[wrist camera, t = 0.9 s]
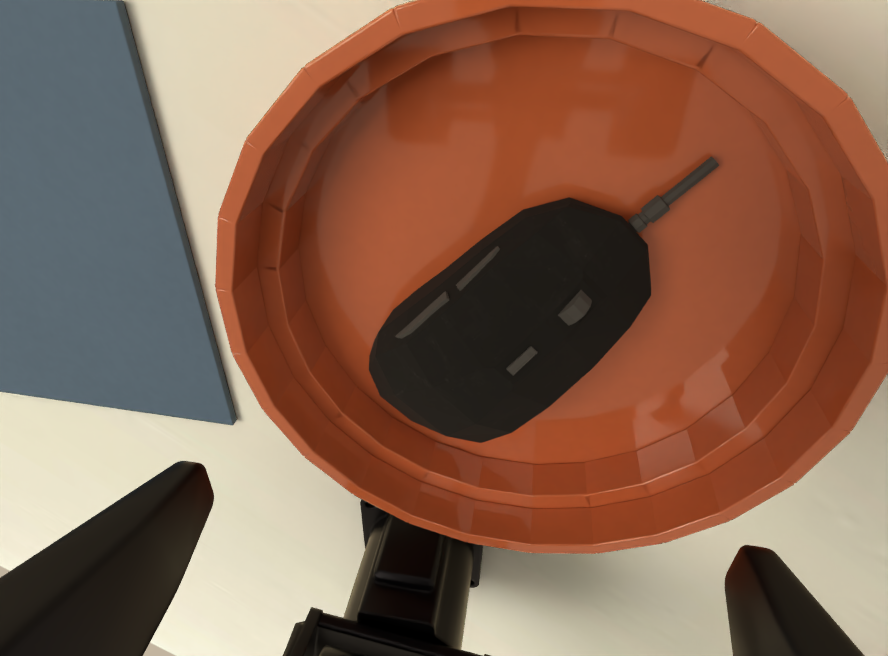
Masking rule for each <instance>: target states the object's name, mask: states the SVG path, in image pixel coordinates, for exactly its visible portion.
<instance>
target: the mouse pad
mask: <svg viewBox="0 0 888 656" xmlns="http://www.w3.org/2000/svg"><path fill="white" fill-rule="evenodd" d="M0 392H7V393H13V394H20V395H27V396H34V397H41V398H48V399H55V400H62V401H69V402H76V403H83V404H90V405H96V406H103V407H110V408H117V409H124V410H131V411H138V412H145V413H152V414H159V415H166V416H172V417H179V418H186V419H193V420H200V421H207V422H214V423H221V424H228V425H234V423H235V422H236V420H237V419H236V415H235V412H234V408H233V404H232V400H231V397H230V393H229V389H228V386H227V382H226V378H225V375H224V371H223V367H222V363H221V360H220V356H219V352H218V349H217V345H216V341H215V338H214V334H213V330H212V326H211V323H210V319H209V315H208V312H207V308H206V304H205V301H204V297H203V293H202V289H201V286H200V282H199V278H198V275H197V271H196V267H195V264H194V260H193V256H192V252H191V249H190V245H189V241H188V238H187V234H186V230H185V227H184V223H183V219H182V215H181V212H180V208H179V204H178V201H177V197H176V193H175V190H174V186H173V182H172V178H171V175H170V171H169V167H168V164H167V160H166V156H165V153H164V149H163V145H162V141H161V138H160V134H159V130H158V127H157V123H156V119H155V116H154V112H153V108H152V104H151V101H150V97H149V93H148V90H147V86H146V82H145V79H144V75H143V71H142V67H141V64H140V60H139V56H138V53H137V49H136V45H135V42H134V38H133V34H132V30H131V27H130V23H129V19H128V16H127V12H126V8H125V5H124V2H123V1H122V0H0Z"/></svg>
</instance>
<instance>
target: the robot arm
mask: <svg viewBox="0 0 888 656" xmlns="http://www.w3.org/2000/svg"><path fill="white" fill-rule="evenodd" d="M213 501H214V493H213V490H212V487H211V484H210V481H209V478H208V475H207V472H206V469H205V467H204V466H203V465H202V464H200V463H195V462H188V461H180V462H177V463H175V464H173V465H172V466H170V467H169V468H167V469H166V470H164V471H163V472H161V473H160V474H158V475H156V476H155V477H153V478H152V479H150V480H149V481H147V482H146V483H144V484H143V485H141V486H140V487H138V488H137V489H135V490H134V491H132V492H131V493H129V494H127V495H126V496H124V497H123V498H121V499H120V500H118V501H117V502H115V503H114V504H112V505H111V506H109V507H108V508H106V509H105V510H103V511H101V512H100V513H98V514H97V515H95V516H94V517H92V518H91V519H89V520H88V521H86V522H85V523H83V524H82V525H80V526H79V527H77V528H75V529H74V530H72V531H71V532H69V533H68V534H66V535H65V536H63V537H62V538H60V539H59V540H57V541H56V542H54V543H53V544H51V545H50V546H48V547H46V548H45V549H43V550H42V551H40V552H39V553H37V554H36V555H34V556H33V557H31V558H30V559H28V560H27V561H25V562H24V563H22V564H20V565H19V566H17V567H16V568H14V569H13V570H11V571H10V572H8V573H7V574H5V575H4V576H2V577H1V578H0V656H143V654H144V652H145V650H146V648H147V647H148V645H149V643H150V641H151V639H152V637H153V635H154V633H155V632H156V630H157V628H158V626H159V624H160V622H161V620H162V618H163V617H164V615H165V613H166V611H167V609H168V607H169V605H170V603H171V602H172V600H173V598H174V596H175V594H176V592H177V590H178V587H179V585H180V583H181V581H182V578H183V576H184V574H185V571H186V569H187V567H188V564H189V562H190V559H191V557H192V554H193V552H194V550H195V547H196V545H197V542H198V540H199V538H200V535H201V533H202V530H203V528H204V525H205V523H206V521H207V518H208V516H209V513H210V511H211V508H212V506H213ZM361 513H362V523H363V532H364V541H365V552H364V555H363V559H362V562H361V565H360V568H359V571H358V574H357V577H356V580H355V583H354V586H353V590H352V593H351V596H350V599H349V602H348V605H347V608H346V611H345V614H344V617H343V618H341V617H338V616H334V615H330V614H327V613H323V610H320V609H317V608H313V607H311V609H310V611H309V613H308V616H307V618H306V620H305V621H303V622H299V623H296V624H295V626H294V629H293V631H292V634H291V637H290V639H289V642H288V644H287V647H286V649H285V652H284V654H283V656H482V655H478V654H474V653H471V652H467V651H463V650H461V647H462V639H463V632H464V625H465V618H466V611H467V603H468V596H469V589H470V587H471V588H474V587H477V586H478V585H479V579H480V570H481V560H482V550H483V545H478V544H472V543H468V542H463V541H460V540H457V539H454V538H451V537H448V536H445V535H442V534H439V533H436V532H433V531H430V530H427V529H424V528H421V527H418V526H415V525H412V524H409V523H407V522H405V521H403V520H401V519H399V518H397V517H395V516H393V515H391V514H389V513H387V512H386V511H384V510H382V509H380V508H378V507H376V506H374V505H372V504H370V503H368V502H366V501H364V500H363V499H362V500H361ZM725 595H726V603H727V611H728V619H729V627H730V635H731V643H732V650H733V656H864V655H863V653H862V652H861V651H860V650H859V649H858V648H857V646H856V645H855V644H854V643H853V642H852V641H851V640H850V638H849V637H848V636H847V635H846V634H845V633H844V631H843V630H842V629H841V628H840V627H839V626H838V624H837V623H836V622H835V621H834V620H833V619H832V618H831V616H830V615H829V614H828V613H827V612H826V611H825V609H824V608H823V607H822V606H821V605H820V604H819V602H818V601H817V600H816V599H815V598H814V597H813V596H812V594H811V593H810V592H809V591H808V590H807V589H806V587H805V586H804V585H803V584H802V583H801V582H800V580H799V579H798V578H797V577H796V576H795V575H794V574H793V572H792V571H791V570H790V569H789V568H788V567H787V565H786V564H785V563H784V562H783V561H782V560H781V558H780V557H779V556H778V555H777V554H776V553H775V552H774V551H772V550H770V549H768V548H763V547H756V546H750V545H744V546H742V547H741V548H740V549H739V551H738V553H737V555H736V557H735V558H734V560H733V562H732V564H731V566H730V568H729V570H728V572H727V574H726V577H725ZM484 656H490V655H487V654H485V655H484Z"/></svg>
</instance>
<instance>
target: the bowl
mask: <svg viewBox="0 0 888 656" xmlns="http://www.w3.org/2000/svg"><path fill="white" fill-rule="evenodd" d="M711 156H712V157H713V158H714V159H715V160H716V162H717V163H718V164H719V166H718V167H717V168H716V169H714V170H713V171H712V172H711V173H709V174H708V175H707V176H706V177H704V178H703V179H702V180H701V181H699V182H698V183H697V184H696V185H694V186H693V187H692V188H691V189H689V190H688V191H687V192H686V193H684V194H683V195H682V196H681V197H679V198H678V199H677V200H676V201H674V202H673V203H672V204H671V205H669V208H670V210H669V211H668V212H667V213H665V214H664V215H663V216H662V217H660V218H659V219H658V220H657V221H655V222H654V223H652V222H649V223H648V224H647V227H646V228H645V229H644V230H643V231H641V232H640V233H638V232H637V233H638V234H639V236H640V237H641V238H642V239H643V240H644V241H645V242H646V243H647V244H648V251H649V264H650V278H651V296H650V298H649V300H648V301H647V303H646V304H645V306H644V307H643V309H642V310H641V312H640V313H639V315H638V316H637V318H636V319H635V321H634V322H633V324H632V325H631V327H630V328H629V329H628V330H627V331H626V332H625V334H624V335H623V336H622V337H621V338H620V339H619V340H618V341H617V342H616V343H615V344H614V346H613V347H612V348H611V349H610V350H609V351H608V352H607V353H606V354H605V355H604V357H603V358H602V359H601V360H600V361H599V362H598V363H597V364H596V365H595V366H594V367H593V368H592V369H591V370H590V371H589V372H588V373H587V374H586V375H585V376H583V377H582V378H581V379H580V380H579V381H578V382H577V383H576V384H574V385H573V386H572V387H571V388H570V389H569V390H568V391H567V392H565V393H564V394H563V395H562V396H561V397H560V398H559V399H558V400H556V401H555V402H554V403H553V404H552V405H551V406H550V407H548V408H547V409H546V410H544V411H543V412H541V413H540V414H538V415H537V416H535V417H534V418H533V419H531V420H530V421H528V422H527V423H525V424H524V425H522V426H521V427H519V428H518V429H517V430H515V431H514V432H512V433H510V434H507V435H504V436H501V437H498V438H495V439H492V440H489V441H486V442H483V443H478V442H473V441H467V440H462V439H457V438H452V437H447V436H444V435H442V434H440V433H438V432H435V431H433V430H431V429H428V428H426V427H424V426H422V425H419V424H417V423H415V422H413V421H411V420H409V419H408V418H407V417H406V416H404V415H403V414H402V413H401V412H399V411H398V410H397V409H396V408H394V407H393V406H392V405H391V404H389V403H388V402H387V401H386V400H384V399H383V398H382V397H381V396H380V395H379V392H378V390H377V388H376V385H375V383H374V381H373V379H372V376H371V374H370V372H369V355H370V352H371V349H372V346H373V343H374V340H375V338H376V336H377V334H378V332H379V330H380V329H381V327H382V326H383V324H384V323H385V321H386V320H387V318H388V317H389V315H390V313H391V312H392V310H393V309H395V308H396V307H397V306H398V305H399V304H400V303H402V302H403V301H404V300H405V299H406V298H407V297H409V296H410V295H411V294H412V293H413V292H414V291H416V290H417V289H418V288H420V287H421V286H422V285H424V284H425V283H426V282H428V281H429V280H430V279H432V278H433V277H435V276H436V275H437V274H439V273H440V272H441V271H443V270H444V269H445V268H447V267H448V266H449V265H450V264H452V263H453V262H454V261H455V260H457V259H458V258H459V257H460V256H461V255H463V254H464V253H465V252H466V251H468V250H469V249H470V248H471V247H473V246H474V245H475V244H476V243H477V242H479V241H480V240H481V239H482V238H484V237H485V236H487V235H488V234H489V233H491V232H492V231H494V230H495V229H496V228H498V227H499V226H501V225H502V224H503V223H505V222H506V221H508V220H509V219H510V218H512V217H513V216H514V215H516V214H517V213H519V212H520V211H521V210H523V209H527V208H531V207H534V206H538V205H542V204H546V203H549V202H553V201H557V200H561V199H565V198H568V197H570V198H573V199H575V200H578V201H581V202H584V203H587V204H589V205H592V206H595V207H598V208H601V209H604V210H606V211H609V212H612V213H615V214H618V215H620V216H622V217H623V218H624V219H625V220H626V221H627V222H628V223H629V221H628V220H629V219H630V218H631V217H632V216H634V215H635V214H636V213H637V214H639V213H640V212H642V210H641V208H642V207H643V206H645V205H646V204H647V203H648V202H649V201H651V200H652V199H653V198H654V197H656V196H657V195H659V196H660V197H662V196H663V195H664V194H665V193H667V192H668V191H669V190H670V189H671V188H673V187H674V186H675V185H676V184H678V183H679V182H680V181H681V180H683V179H684V178H685V177H686V176H688V175H689V174H690V173H691V172H692V171H694V170H695V169H696V168H697V167H699V166H700V165H701V164H702V163H704V162H705V161H706V160H707V159H709V158H710V157H711ZM215 287H216V293H217V297H218V301H219V305H220V309H221V313H222V317H223V321H224V324H225V328H226V332H227V336H228V340H229V344H230V348H231V352H232V353H233V357H234V358H235V360H236V362H237V364H238V366H239V368H240V369H241V371H242V373H243V375H244V377H245V379H246V380H247V382H248V384H249V386H250V388H251V390H252V391H253V393H254V395H255V397H256V399H257V401H258V402H259V404H260V406H261V408H262V409H263V410H264V412H265V413H266V414H267V415H268V416H269V418H270V419H271V420H272V421H273V422H274V423H275V424H276V426H277V427H278V428H279V429H280V430H281V431H282V432H283V434H284V435H285V436H286V437H287V438H288V439H289V440H290V441H291V443H292V444H293V445H294V446H295V447H296V448H297V449H298V451H299V452H300V453H301V454H302V455H303V456H305V458H306V459H307V460H309V461H310V462H311V463H313V464H314V465H315V466H317V467H318V468H319V469H320V470H322V471H323V472H324V473H326V474H327V475H328V476H330V477H331V478H332V479H333V480H335V481H336V482H337V483H339V484H340V485H341V486H343V487H344V488H345V489H346V490H348V491H349V492H350V493H352V494H354V495H355V496H357V497H359V498H361V499H363V500H364V501H366V502H368V503H370V504H372V505H374V506H376V507H378V508H380V509H382V510H384V511H386V512H387V513H389V514H391V515H393V516H395V517H397V518H399V519H401V520H403V521H405V522H407V523H409V524H412V525H415V526H418V527H421V528H424V529H427V530H430V531H433V532H436V533H439V534H442V535H445V536H448V537H451V538H454V539H457V540H460V541H463V542H468V543H472V544H478V545H484V546H490V547H496V548H502V549H508V550H514V551H520V552H526V553H530V552H531V553H572V554H595V553H604V552H611V551H617V550H624V549H630V548H637V547H643V546H650V545H656V544H662V543H663V542H664V543H666V542H669V541H672V540H675V539H678V538H681V537H684V536H687V535H690V534H693V533H696V532H699V531H702V530H705V529H708V528H711V527H714V526H717V525H720V524H722V523H725V522H728V521H730V520H733V519H735V518H737V517H738V516H740V515H742V514H744V513H745V512H747V511H749V510H751V509H752V508H754V507H756V506H758V505H759V504H761V503H763V502H765V501H766V500H768V499H770V498H771V497H773V496H775V495H777V494H778V493H780V492H782V491H784V490H785V489H787V488H789V487H791V486H792V485H794V483H797V482H798V481H799V480H800V479H801V478H802V477H803V476H804V475H805V474H806V473H807V472H808V471H810V470H811V469H812V468H813V467H814V466H815V465H816V464H817V463H818V462H819V461H820V460H821V459H823V458H824V457H825V456H826V455H827V454H828V453H829V452H830V451H831V450H832V449H833V448H834V447H836V446H837V445H838V444H839V443H840V442H841V441H842V440H843V439H844V438H845V437H846V436H847V435H849V434H850V431H852V430H853V428H854V427H855V425H856V424H857V422H858V420H859V419H860V417H861V416H862V414H863V412H864V411H865V409H866V408H867V406H868V404H869V403H870V401H871V400H872V398H873V396H874V395H875V393H876V391H877V390H878V388H879V387H880V385H881V383H882V382H883V380H884V379H885V377H886V375H887V374H888V162H887V160H886V158H885V156H884V155H883V153H882V151H881V149H880V148H879V146H878V144H877V142H876V141H875V139H874V137H873V135H872V134H871V132H870V130H869V128H868V127H867V125H866V123H865V121H864V120H863V118H862V116H861V114H860V112H859V111H858V109H857V107H856V105H855V104H854V102H853V100H852V98H850V97H849V96H848V94H847V93H846V92H845V91H844V90H843V89H841V88H840V87H839V86H838V85H836V84H835V83H834V82H833V81H832V80H830V79H829V78H828V77H827V76H825V75H824V74H823V73H822V72H821V71H819V70H818V69H817V68H816V67H814V66H813V65H812V64H811V63H809V62H808V61H807V60H806V59H805V58H803V57H802V56H801V55H800V54H798V53H797V52H796V51H795V50H794V49H792V48H791V47H790V46H789V45H787V44H786V43H785V42H784V41H782V40H781V39H780V38H779V37H778V36H776V35H775V34H774V33H773V32H771V31H770V30H769V29H768V28H766V27H765V26H764V25H763V24H762V23H760V22H757V21H756V20H755V19H752V18H749V17H746V16H744V15H741V14H738V13H735V12H732V11H730V10H727V9H724V8H721V7H718V6H716V5H713V4H710V3H707V2H705V1H702V0H412V1H409V2H406V3H403V4H400V5H397V6H395V7H394V8H391V9H389V10H387V11H386V12H384V13H383V14H381V15H380V16H378V17H377V18H375V19H374V20H372V21H371V22H369V23H368V24H366V25H365V26H363V27H362V28H360V29H359V30H357V31H356V32H354V33H353V34H351V35H350V36H348V37H347V38H345V39H344V40H342V41H341V42H339V43H337V44H336V45H334V46H333V47H331V48H330V49H328V50H327V51H325V52H324V53H322V54H321V55H319V56H318V57H316V58H315V59H313V60H312V61H310V62H309V63H307V64H306V65H305V67H303V68H301V70H300V71H299V72H298V73H297V75H296V76H295V77H294V78H293V80H292V81H291V82H290V83H289V85H288V86H287V87H286V88H285V90H284V91H283V92H282V94H281V95H280V96H279V97H278V99H277V100H276V101H275V102H274V104H273V105H272V106H271V107H270V109H269V110H268V111H267V113H266V114H265V115H264V116H263V118H262V119H261V120H260V121H259V123H258V124H257V125H256V126H255V128H254V129H253V130H252V131H251V133H250V134H249V135H248V137H247V138H246V141H245V142H244V145H243V148H242V151H241V153H240V156H239V159H238V162H237V164H236V167H235V170H234V173H233V175H232V178H231V181H230V184H229V186H228V189H227V192H226V195H225V197H224V200H223V203H222V206H221V208H220V211H219V216H218V229H217V256H216V283H215Z"/></svg>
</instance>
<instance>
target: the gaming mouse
mask: <svg viewBox="0 0 888 656" xmlns="http://www.w3.org/2000/svg"><path fill="white" fill-rule="evenodd" d="M718 166H719V164H718V163H717V162H716V160H715V159H714V158H713V157H712V156H711V157H710V158H709V159H707V160H706V161H705V162H704V163H702V164H701V165H700V166H699V167H697V168H696V169H695V170H694V171H692V172H691V173H690V174H689V175H688V176H686V177H685V178H684V179H683V180H681V181H680V182H679V183H678V184H676V185H675V186H674V187H673V188H671V189H670V190H669V191H668V192H667V193H665V194H664V195H663V196H662V197H660V196H659V195H657V196H656V197H654V198H653V199H652V200H651V201H649V202H648V203H647V204H646V205H645V206H643V207H642V208H641V210H642V212H640V213H639V214H637V213H636V214H635V215H634V216H632V217H631V218H630V219H629V220H628V221H629V223H628V222H627V221H626V220H625V219H624V218H623V217H622V216H620V215H618V214H615V213H612V212H609V211H606V210H604V209H601V208H598V207H595V206H592V205H589V204H587V203H584V202H581V201H578V200H575V199H573V198H570V197H568V198H565V199H561V200H557V201H553V202H549V203H546V204H542V205H538V206H534V207H531V208H527V209H523V210H521V211H520V212H519V213H517V214H516V215H514V216H513V217H512V218H510V219H509V220H508V221H506V222H505V223H503V224H502V225H501V226H499V227H498V228H496V229H495V230H494V231H492V232H491V233H489V234H488V235H487V236H485V237H484V238H482V239H481V240H480V241H479V242H477V243H476V244H475V245H474V246H473V247H471V248H470V249H469V250H468V251H466V252H465V253H464V254H463V255H461V256H460V257H459V258H458V259H457V260H455V261H454V262H453V263H452V264H450V265H449V266H448V267H447V268H445V269H444V270H443V271H441V272H440V273H439V274H437V275H436V276H435V277H433V278H432V279H430V280H429V281H428V282H426V283H425V284H424V285H422V286H421V287H420V288H418V289H417V290H416V291H414V292H413V293H412V294H411V295H410V296H409V297H407V298H406V299H405V300H404V301H403V302H402V303H400V304H399V305H398V306H397V307H396V308H395V309H393V310H392V312H391V313H390V315H389V317H388V318H387V320H386V321H385V323H384V324H383V326H382V327H381V329H380V330H379V332H378V334H377V336H376V338H375V340H374V343H373V346H372V349H371V352H370V355H369V372H370V374H371V376H372V379H373V381H374V383H375V385H376V388H377V390H378V392H379V395H380V396H381V397H382V398H383V399H384V400H386V401H387V402H388V403H389V404H391V405H392V406H393V407H394V408H396V409H397V410H398V411H399V412H401V413H402V414H403V415H404V416H406V417H407V418H408V419H409V420H411V421H413V422H415V423H417V424H419V425H422V426H424V427H426V428H428V429H431V430H433V431H435V432H438V433H440V434H442V435H444V436H447V437H452V438H457V439H462V440H467V441H473V442H478V443H483V442H486V441H489V440H492V439H495V438H498V437H501V436H504V435H507V434H510V433H512V432H514V431H515V430H517V429H518V428H519V427H521V426H522V425H524V424H525V423H527V422H528V421H530V420H531V419H533V418H534V417H535V416H537V415H538V414H540V413H541V412H543V411H544V410H546V409H547V408H548V407H550V406H551V405H552V404H553V403H554V402H555V401H556V400H558V399H559V398H560V397H561V396H562V395H563V394H564V393H565V392H567V391H568V390H569V389H570V388H571V387H572V386H573V385H574V384H576V383H577V382H578V381H579V380H580V379H581V378H582V377H583V376H585V375H586V374H587V373H588V372H589V371H590V370H591V369H592V368H593V367H594V366H595V365H596V364H597V363H598V362H599V361H600V360H601V359H602V358H603V357H604V355H605V354H606V353H607V352H608V351H609V350H610V349H611V348H612V347H613V346H614V344H615V343H616V342H617V341H618V340H619V339H620V338H621V337H622V336H623V335H624V334H625V332H626V331H627V330H628V329H629V328H630V327H631V325H632V324H633V322H634V321H635V319H636V318H637V316H638V315H639V313H640V312H641V310H642V309H643V307H644V306H645V304H646V303H647V301H648V300H649V298H650V296H651V278H650V264H649V251H648V244H647V243H646V242H645V241H644V240H643V239H642V238H641V237H640V236H639V234H638V233H640V232H641V231H643V230H644V229H645V228H646V227H647V224H648V223H649V222H652V223H654V222H655V221H657V220H658V219H659V218H660V217H662V216H663V215H664V214H665V213H667V212H668V211H669V210H670V208H669V205H671V204H672V203H673V202H674V201H676V200H677V199H678V198H679V197H681V196H682V195H683V194H684V193H686V192H687V191H688V190H689V189H691V188H692V187H693V186H694V185H696V184H697V183H698V182H699V181H701V180H702V179H703V178H704V177H706V176H707V175H708V174H709V173H711V172H712V171H713V170H714V169H716V168H717V167H718ZM637 232H638V233H637Z"/></svg>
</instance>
